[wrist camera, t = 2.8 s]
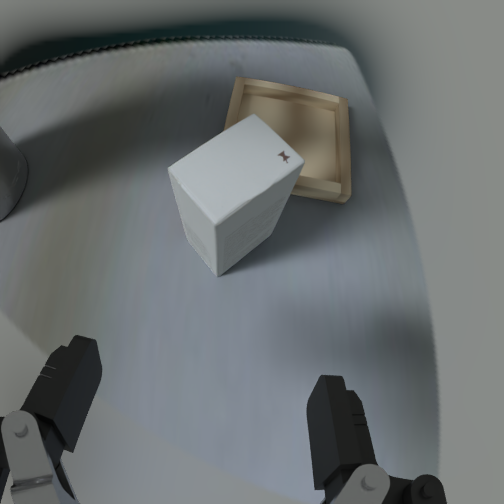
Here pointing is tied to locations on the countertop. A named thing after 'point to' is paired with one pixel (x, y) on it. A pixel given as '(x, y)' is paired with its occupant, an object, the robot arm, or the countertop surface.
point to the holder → (302, 132)
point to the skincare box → (234, 190)
